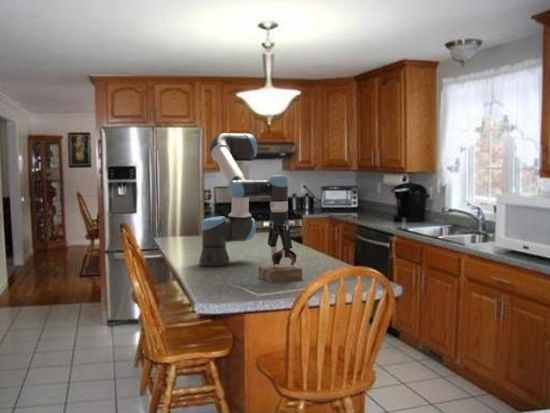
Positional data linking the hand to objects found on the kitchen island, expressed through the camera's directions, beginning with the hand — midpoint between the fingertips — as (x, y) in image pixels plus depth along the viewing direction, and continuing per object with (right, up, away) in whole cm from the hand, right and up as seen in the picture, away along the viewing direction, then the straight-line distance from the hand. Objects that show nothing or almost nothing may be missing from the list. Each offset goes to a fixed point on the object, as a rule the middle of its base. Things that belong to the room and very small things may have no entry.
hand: (279, 263), depth 242 cm
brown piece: (-1, -2, 0) cm, 2 cm away
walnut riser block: (0, -7, 0) cm, 7 cm away
